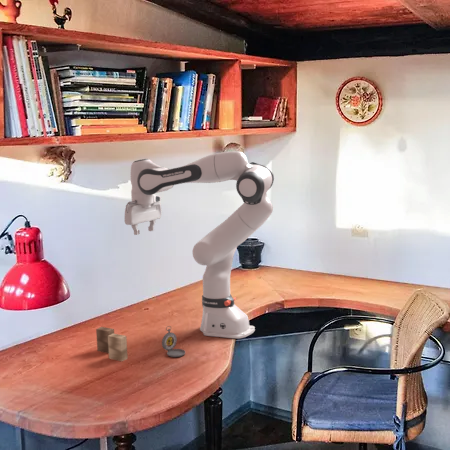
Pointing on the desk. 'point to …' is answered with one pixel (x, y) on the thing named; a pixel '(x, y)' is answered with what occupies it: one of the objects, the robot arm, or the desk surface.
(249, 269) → the desk surface
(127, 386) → the desk surface
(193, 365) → the desk surface
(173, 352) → the pocket watch
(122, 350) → the wooden letter t block
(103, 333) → the wooden letter h block
